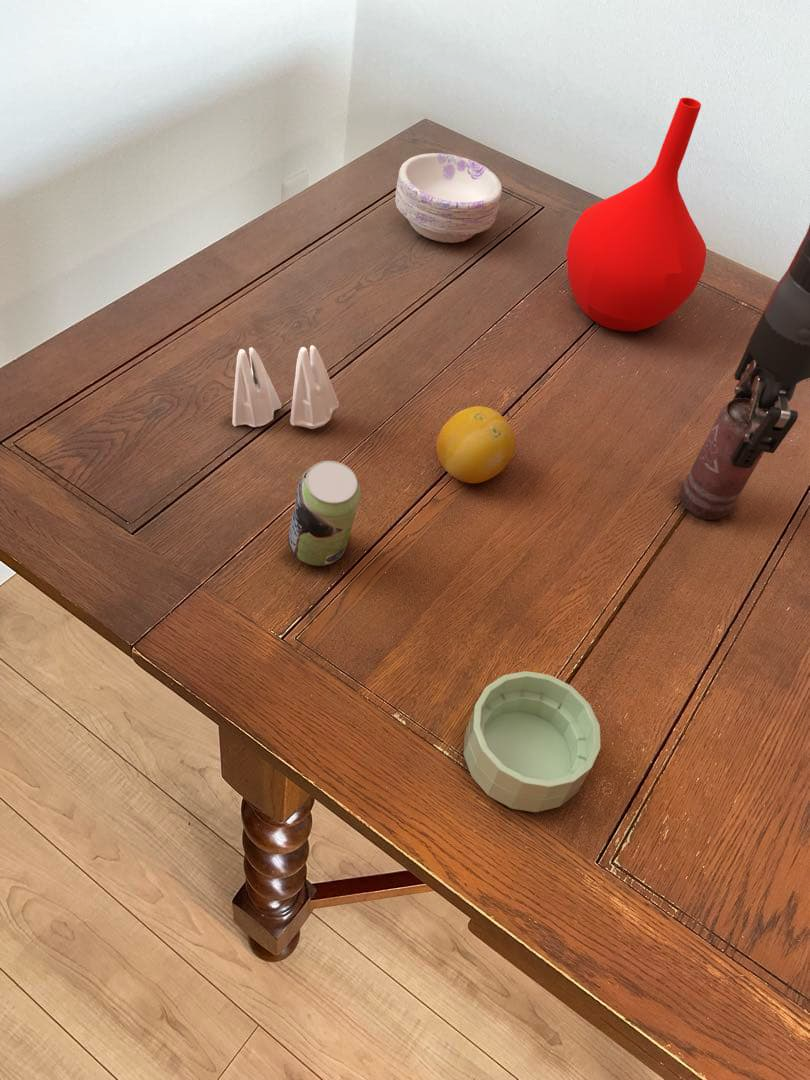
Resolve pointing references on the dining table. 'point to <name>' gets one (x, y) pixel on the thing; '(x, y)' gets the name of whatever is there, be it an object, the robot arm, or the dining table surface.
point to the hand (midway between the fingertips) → (736, 443)
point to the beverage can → (323, 513)
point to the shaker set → (261, 400)
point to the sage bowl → (531, 741)
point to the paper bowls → (447, 196)
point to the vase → (640, 243)
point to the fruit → (475, 444)
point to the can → (719, 465)
